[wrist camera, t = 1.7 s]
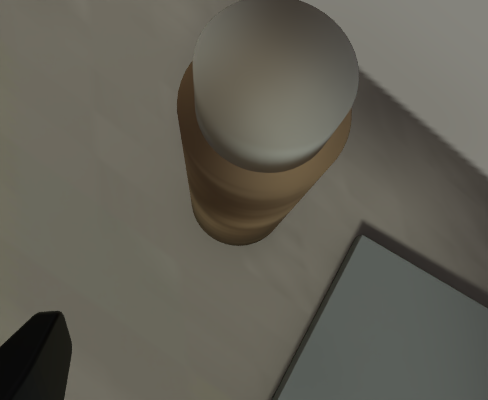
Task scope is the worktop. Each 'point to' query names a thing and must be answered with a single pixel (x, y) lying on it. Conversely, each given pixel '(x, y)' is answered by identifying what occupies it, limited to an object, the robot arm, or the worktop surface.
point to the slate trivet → (390, 336)
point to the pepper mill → (263, 113)
